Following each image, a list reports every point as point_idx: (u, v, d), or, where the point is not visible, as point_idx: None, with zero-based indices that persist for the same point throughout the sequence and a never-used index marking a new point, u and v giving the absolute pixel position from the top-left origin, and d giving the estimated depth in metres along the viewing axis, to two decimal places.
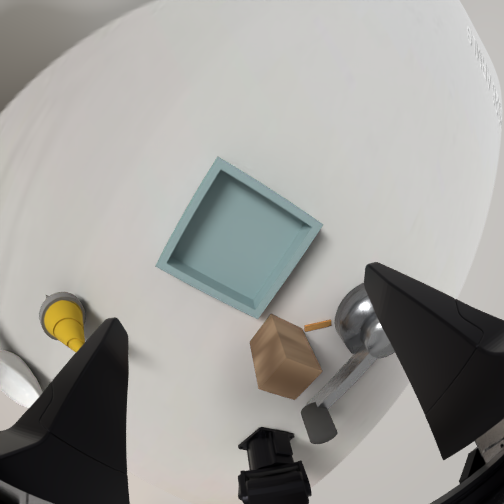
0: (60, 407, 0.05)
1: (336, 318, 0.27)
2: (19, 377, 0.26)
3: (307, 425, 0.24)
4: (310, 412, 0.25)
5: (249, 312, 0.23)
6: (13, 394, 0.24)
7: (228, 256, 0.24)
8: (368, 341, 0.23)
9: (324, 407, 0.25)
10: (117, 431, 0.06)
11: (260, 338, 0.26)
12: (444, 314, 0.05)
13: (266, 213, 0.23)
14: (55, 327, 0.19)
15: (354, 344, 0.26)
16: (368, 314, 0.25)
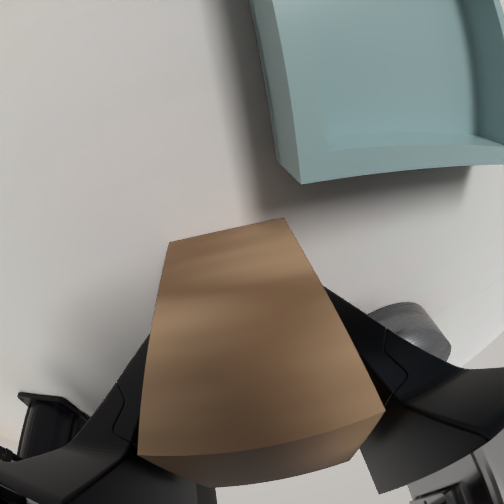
0: (135, 411, 0.05)
1: None
2: None
3: None
4: None
5: (306, 140, 0.05)
6: None
7: (359, 14, 0.05)
8: None
9: None
10: None
11: (220, 255, 0.08)
12: (364, 347, 0.05)
13: (460, 58, 0.06)
14: None
15: None
16: None
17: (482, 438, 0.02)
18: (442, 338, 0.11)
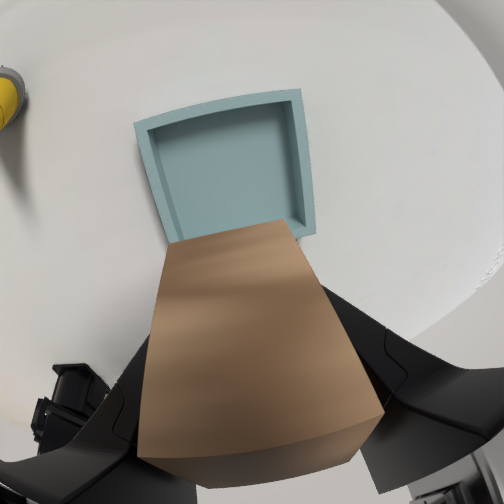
0: (136, 411, 0.05)
1: None
2: None
3: None
4: None
5: None
6: None
7: (205, 181, 0.18)
8: None
9: None
10: None
11: (220, 256, 0.08)
12: (364, 347, 0.05)
13: (276, 176, 0.18)
14: None
15: None
16: None
17: (482, 438, 0.02)
18: None
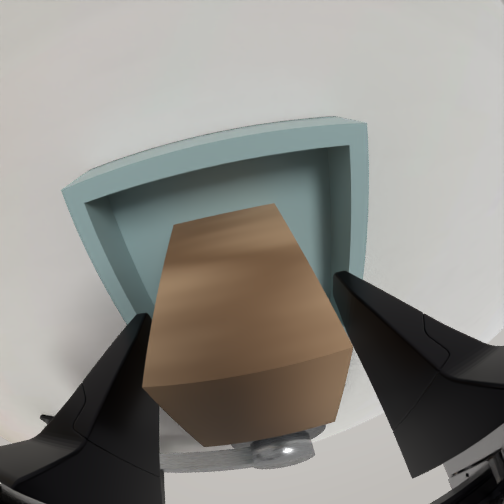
0: (94, 410, 0.05)
1: None
2: None
3: None
4: None
5: None
6: None
7: None
8: (265, 458, 0.15)
9: (162, 471, 0.16)
10: (151, 432, 0.06)
11: (217, 233, 0.09)
12: (407, 330, 0.05)
13: (306, 258, 0.12)
14: None
15: None
16: None
17: None
18: None
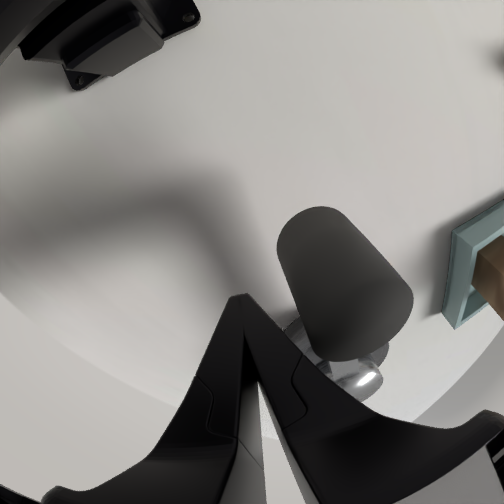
0: (228, 403, 0.05)
1: None
2: None
3: None
4: None
5: (480, 244, 0.14)
6: None
7: None
8: (378, 372, 0.15)
9: None
10: (258, 422, 0.06)
11: None
12: (271, 373, 0.05)
13: None
14: None
15: None
16: None
17: None
18: (380, 362, 0.18)
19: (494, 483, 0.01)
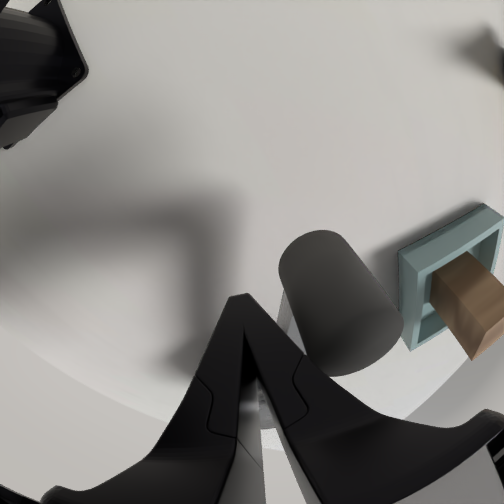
0: (227, 403, 0.05)
1: None
2: None
3: None
4: None
5: (429, 268, 0.14)
6: None
7: None
8: None
9: None
10: (257, 422, 0.06)
11: None
12: (272, 373, 0.05)
13: None
14: None
15: None
16: None
17: None
18: None
19: (495, 482, 0.01)
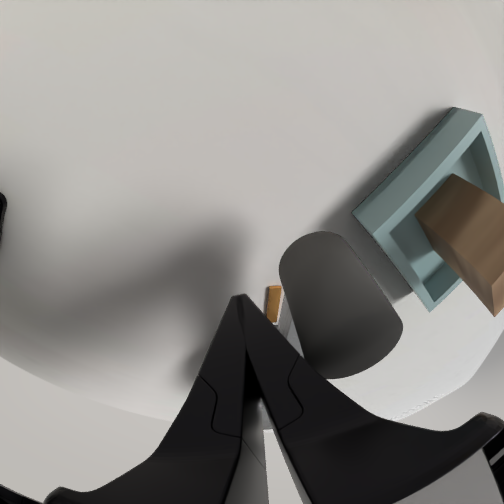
0: (231, 402, 0.05)
1: None
2: None
3: None
4: None
5: (388, 223, 0.12)
6: None
7: None
8: None
9: None
10: (260, 421, 0.06)
11: None
12: (268, 374, 0.05)
13: None
14: None
15: None
16: None
17: None
18: None
19: (491, 486, 0.01)
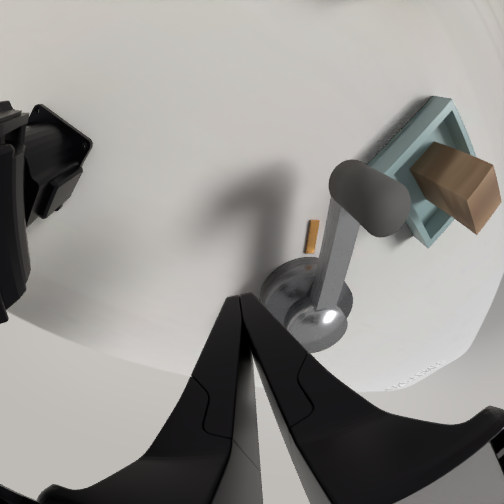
0: (223, 404, 0.05)
1: (315, 259, 0.23)
2: None
3: None
4: None
5: (393, 167, 0.17)
6: None
7: None
8: (345, 318, 0.20)
9: None
10: (254, 422, 0.06)
11: None
12: (277, 372, 0.05)
13: None
14: None
15: (299, 290, 0.21)
16: None
17: None
18: None
19: (499, 479, 0.01)
